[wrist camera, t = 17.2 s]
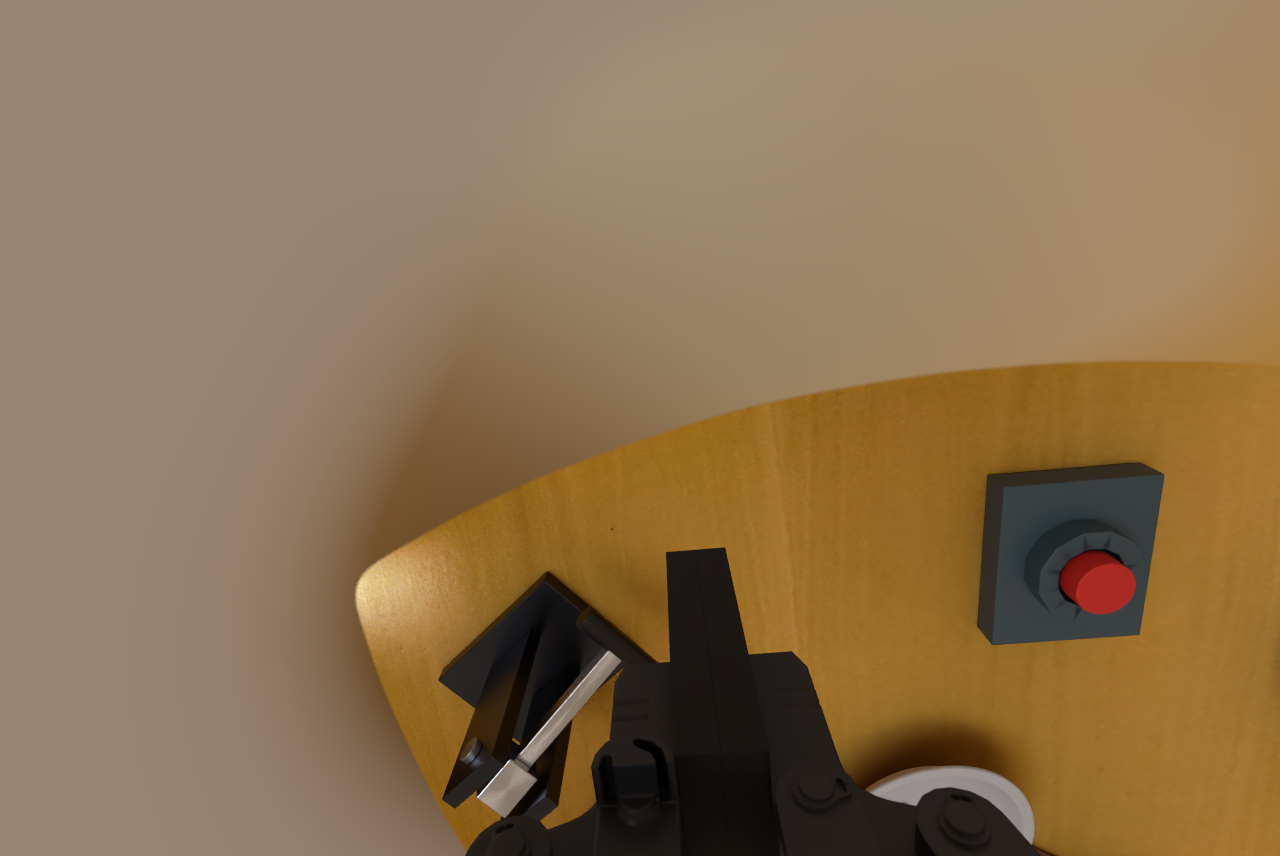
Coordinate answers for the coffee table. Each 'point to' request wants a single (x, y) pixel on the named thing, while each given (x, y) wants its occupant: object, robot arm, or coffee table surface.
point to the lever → (560, 712)
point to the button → (1097, 582)
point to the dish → (974, 779)
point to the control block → (1063, 548)
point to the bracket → (519, 690)
